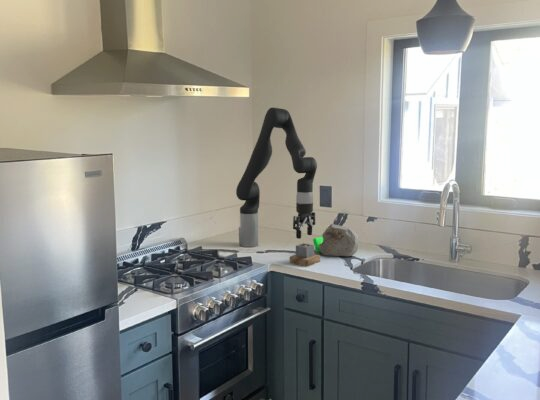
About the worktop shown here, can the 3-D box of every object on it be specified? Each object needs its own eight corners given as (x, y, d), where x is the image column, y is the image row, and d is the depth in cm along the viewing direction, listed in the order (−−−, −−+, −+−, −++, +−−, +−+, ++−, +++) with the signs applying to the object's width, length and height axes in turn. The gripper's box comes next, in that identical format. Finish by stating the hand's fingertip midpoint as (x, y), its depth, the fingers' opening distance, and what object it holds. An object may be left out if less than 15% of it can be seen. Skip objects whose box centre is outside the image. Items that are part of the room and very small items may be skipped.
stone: (359, 254, 262) (359, 224, 260) (357, 258, 256) (357, 227, 253) (321, 252, 268) (321, 222, 266) (318, 256, 261) (318, 225, 259)
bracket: (342, 252, 283) (337, 239, 285) (352, 246, 275) (347, 233, 277) (309, 257, 273) (305, 244, 275) (319, 251, 265) (315, 237, 267)
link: (295, 256, 249) (295, 245, 249) (303, 253, 254) (303, 243, 253) (306, 258, 246) (306, 247, 245) (314, 255, 250) (314, 244, 250)
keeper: (289, 263, 249) (289, 245, 248) (302, 258, 257) (302, 241, 256) (307, 266, 243) (307, 249, 242) (320, 261, 251) (320, 244, 250)
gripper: (306, 198, 253) (306, 232, 256) (288, 202, 242) (288, 238, 245) (320, 200, 249) (319, 235, 252) (302, 204, 238) (301, 240, 241)
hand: (304, 236), depth 248 cm, fingers open, 8 cm apart
